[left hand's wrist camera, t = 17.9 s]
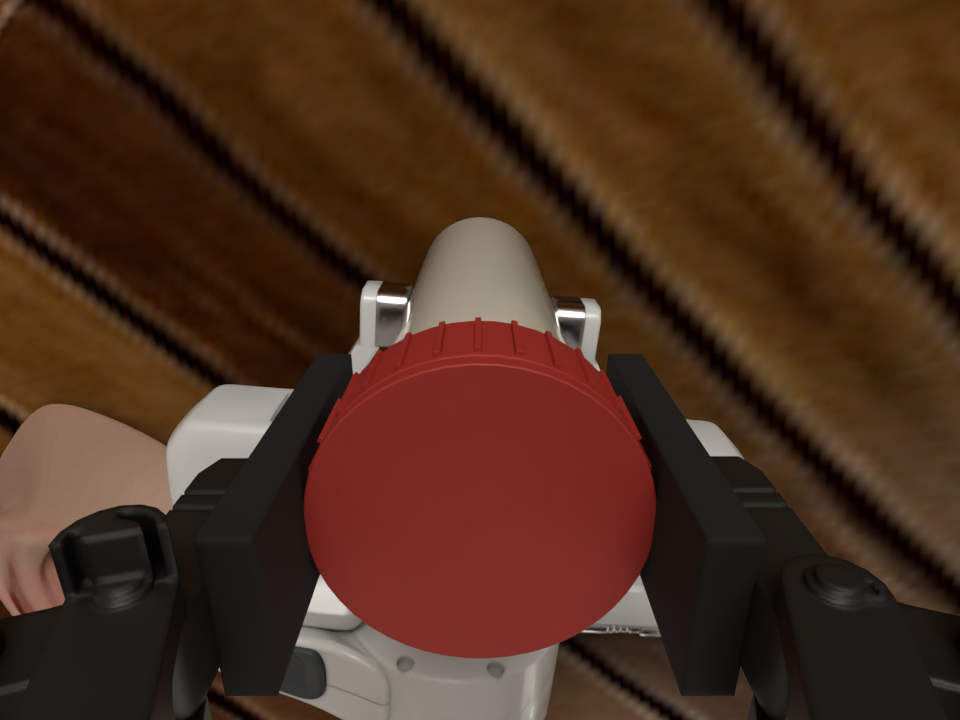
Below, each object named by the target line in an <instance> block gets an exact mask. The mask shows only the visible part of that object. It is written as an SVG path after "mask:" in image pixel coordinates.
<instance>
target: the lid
mask: <svg viewBox="0 0 960 720" xmlns="http://www.w3.org/2000/svg"><path fill="white" fill-rule="evenodd" d="M640 439H642V437H641V435H640V433H639V431H638V429H637V427H636V425H635V423H634V421H633V419H632V417H631V415H630V413H629V411H628V409H627V407H626V405H625V403H624V401H623V399H622V397H621V396H618V397H617V396H616V394H615V392H614V390H613V388H612V386H611V384H610V382H609V379H608V377H607V375H606V373H605V372H604V371H603V370H602V369H601V370H600V371H598V370H597V369H596V368H595V367H594V366H593V365H592V364H591V363H590V362H589V361H588V360H587V359H585V358H584V355H583V353H582V351H581V349H579V348H578V347H577V348H576V349H575V350H574V349H573V348H571V347H569V346H568V345H566V344H564V343H563V342H561V341H559V340H558V339H556V338H554V337H553V336H552V333H551V332H549V331H547V330H546V332H545V334H544V333H542V332H540V331H537V330H534V329H531V328H527V327H524V326H520V325H518V322H517V321H514V320H512V321H511V324H510V323H504V322H497V321H481V317H475V321H465V322H456V323H449V324H446V323H445V321H441V322H439V326H436V327H432V328H429V329H426V330H424V331H421V332H418V333H416V334H413V335H412V333H411V332H408V333H406V334H405V337H404V339H403V340H401V341H399V342H397V343H395V344H394V345H392V346H391V347H389V348H388V349H387V350H385V351H384V352H383V351H382V350H381V349H380V350H378V351H377V352H376V354H375V356H374V358H373V361H372V362H370V363H369V364H368V365H367V366H366V367H365V368H364V369H363V370H362V371H361V373H360V374H359V373H357V372H355V373H354V374H353V376H352V378H351V380H350V382H349V384H348V386H347V388H346V390H345V392H344V395H343V397H342V399H339V398H338V399H337V402H336V404H335V406H334V408H333V410H332V412H331V414H330V416H329V418H328V420H327V422H326V424H325V426H324V428H323V430H322V432H321V434H320V436H319V438H318V440H317V442H318V443H320V445H319V447H318V449H317V451H316V453H315V455H314V458H313V460H312V462H311V464H310V466H309V468H308V478H307V482H306V487H305V491H304V517H305V526H306V534H307V541H308V546H309V550H310V553H311V555H312V558H313V560H314V562H315V565H316V567H317V569H318V571H319V573H320V574H321V576H322V578H323V579H324V581H325V583H326V584H327V586H328V587H329V588H330V590H331V591H332V592H333V593H334V594H335V596H336V597H337V598H338V599H339V601H340V602H341V603H342V604H343V605H344V606H346V607H347V608H348V609H349V610H350V611H351V612H352V613H353V614H354V615H355V616H357V617H358V618H359V619H360V620H362V621H363V622H364V623H366V624H367V625H368V626H370V627H372V628H373V629H375V630H377V631H378V632H380V633H382V634H383V635H385V636H387V637H389V638H391V639H393V640H396V641H398V642H400V643H402V644H405V645H407V646H410V647H413V648H416V649H420V650H423V651H426V652H430V653H435V654H440V655H444V656H452V657H460V658H486V659H487V658H499V657H509V656H515V655H520V654H526V653H530V652H534V651H537V650H540V649H544V648H547V647H550V646H552V645H555V644H557V643H560V642H562V641H565V640H567V639H569V638H571V637H573V636H575V635H576V634H578V633H580V632H582V631H584V630H585V629H587V628H588V627H590V626H591V625H593V624H594V623H596V622H597V621H599V620H600V619H601V618H602V617H604V616H605V615H606V614H607V613H608V612H609V611H610V610H612V609H613V608H614V607H615V606H616V605H617V604H618V603H619V602H620V600H621V599H622V598H623V597H624V596H625V595H626V594H627V592H628V591H629V590H630V588H631V587H632V585H633V584H634V583H635V581H636V580H637V578H638V577H639V575H640V573H641V571H642V569H643V567H644V565H645V563H646V561H647V559H648V556H649V553H650V550H651V545H652V538H653V531H654V523H655V514H656V505H657V498H656V492H655V485H654V480H653V477H652V474H651V469H652V465H651V463H650V461H649V459H648V457H647V455H646V453H645V451H644V449H643V447H642V445H641V443H640V441H639V440H640Z"/></svg>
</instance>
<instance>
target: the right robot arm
mask: <svg viewBox="0 0 960 720" xmlns="http://www.w3.org/2000/svg"><path fill="white" fill-rule="evenodd" d="M411 294H412V285H411V284H400V283H390V282H383V281H367V283H366V285H365V286H364V288H363V290H362V295H361V302H360V336H359V338H358V339H357V341H356V342H355V344H354V345H353V347H352V348H351V350H350V351H349V353H348V354H351V356H352V369H353V374H354V373H355V372H357V373H359V374H360V373H361V371H362V370H363V369H364V368H365V367H366V366H367V365H368V364H369V363H370V361H371V360H372V358H373V357H374V355H375V354H376V352H377V351H378V349H379V347H391V346H392V344H393V342H394V339H395V336H396V334H397V331H398V328H399V326H400V323H401V320H402V318H403V315H404V312H405V310H406V307H407V304H408V302H409V299H410V296H411ZM551 302H552V304H553V307H554V310H555V312H556V315H557V318H558V320H559V323H560V326H561V328H562V331H563V333H564V336H565V339H566V341H567V344H568V346H569V347H571V348H573V349H574V350H575V349H576V348H577V347H578V348H579V349H581V351H582V353H583V355H584V358H585V359H587V360H588V361H589V362H590V363H591V364H592V365H593V366H594V367H595V368H596V369H597V370H598V371H600V368H599V366H598V364H597V362H596V359H595V355H596V349H597V343H598V337H599V330H600V324H601V310H600V307H599V305H598V304H597V302H596V300H595V299H587V298H575V297H561V296H552V297H551ZM293 390H294V389H284V388H271V387H258V386H245V385H233V384H226V385H221V386H218V387H216V388H215V389H214V390H212V391H211V392H210V393H209V394H208V395H207V396H206V397H204V398H203V399H202V400H201V401H200V402H199V403H198V404H197V405H195V406H194V407H193V408H192V409H191V410H190V411H189V412H188V414H187V415H186V416H185V417H184V418H183V419H182V421H181V422H180V423H179V424H178V426H177V427H176V428H175V430H174V431H173V433H172V435H171V437H170V439H169V441H168V444H167V448H166V468H167V477H168V485H169V492H170V498H171V504H172V509H173V505H174V504H175V502H176V501H177V500H178V499H179V497H180V496H181V495H184V491H185V490H186V488H187V487H188V486H189V485H190V483H191V482H192V481H193V479H194V478H195V477H196V476H197V474H198V473H200V472H201V471H203V470H204V469H206V468H207V467H209V466H210V465H212V464H213V463H215V462H216V461H218V460H219V459H221V458H248V457H249V456H250V454H251V453H252V451H253V450H254V449H255V447H256V446H257V444H258V443H259V441H260V440H261V438H262V437H263V435H264V434H265V432H266V431H267V429H268V428H269V426H270V425H271V423H272V422H273V420H274V419H275V417H276V416H277V414H278V413H279V411H280V410H281V408H282V407H283V405H284V404H285V402H286V401H287V399H288V398H289V396H290V395H291V393H292V392H293ZM686 421H687V422H688V424H689V425H690V427H691V428H692V430H693V431H694V433H695V434H696V436H697V437H698V439H699V440H700V442H701V443H702V445H703V446H704V448H705V449H706V451H707V452H708V454H709V455H710V456H739V457H741V458H742V459H744V458H743V457H742V455H741V453H740V452H739V451H738V449H737V448H736V447H735V446H734V444H733V443H732V442H731V441H730V440H729V438H728V437H727V436H726V435H725V434H724V433H723V432H722V430H721V429H720V428H719V427H718V426H716V425H715V424H713V423H711V422H707V421H700V420H687V419H686ZM620 632H621V633H633V634H637V635H638V636H643V637H661V635H660V632H659V629H658V626H657V623H656V620H655V617H654V615H653V612H652V609H651V606H650V603H649V600H648V597H647V594H646V591H645V589H644V586H643V583H642V580H641V577H640V575H639V577H638V578H637V580H636V581H635V583H634V584H633V585H632V587H631V588H630V590H629V591H628V592H627V594H626V595H625V596H624V597H623V598H622V599H621V600H620V602H619V603H618V604H617V605H616V606H615V607H614V608H613V609H612V610H610V611H609V612H608V613H607V614H606V615H605V616H604V617H602V618H601V619H600V620H599V621H597V622H596V623H594V624H593V625H591V626H590V627H588V628H587V629H585V630H584V631H582V632H580V633H591V634H607V633H608V634H610V633H620ZM558 649H559V643H557V644H555V645H552V646H550V647H547V648H544V649H540V650H537V651H534V652H530V653H526V654H520V655H515V656H509V657H499V658H487V659H486V658H460V657H452V656H444V655H440V654H435V653H430V652H426V651H423V650H420V649H416V648H413V647H410V646H407V645H405V644H402V643H400V642H398V641H396V640H393V639H391V638H389V637H387V636H385V635H383V634H382V633H380V632H378V631H377V630H375V629H373V628H372V627H370V626H368V625H367V624H366V623H364V622H363V621H362V620H360V619H359V618H358V617H357V616H355V615H354V614H353V613H352V612H351V611H350V610H349V609H348V608H347V607H346V606H344V605H343V604H342V603H341V602H340V601H339V599H338V598H337V597H336V596H335V594H334V593H333V592H332V591H331V590H330V588H329V587H328V586H327V584H326V583H325V581H324V579H323V578H322V576H321V574H320V576H319V579H318V582H317V585H316V588H315V590H314V593H313V596H312V599H311V602H310V605H309V608H308V611H307V614H306V616H305V619H304V622H303V625H302V628H301V631H300V634H299V637H298V640H297V643H296V645H295V648H294V651H293V654H292V657H291V660H290V663H289V666H288V669H287V671H286V674H285V677H284V680H283V683H282V686H281V689H280V692H279V693H280V694H283V695H286V696H289V697H292V698H295V699H297V700H300V701H303V702H305V703H308V704H310V705H313V706H315V707H317V708H319V709H322V710H324V711H326V712H328V713H330V714H332V715H334V716H336V717H338V718H340V719H342V720H545V717H546V714H547V710H548V705H549V699H550V694H551V688H552V683H553V677H554V671H555V666H556V659H557V654H558ZM218 671H219V672H220V667H219V670H218Z"/></svg>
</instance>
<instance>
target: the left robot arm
mask: <svg viewBox="0 0 960 720" xmlns="http://www.w3.org/2000/svg"><path fill="white" fill-rule="evenodd" d="M352 376H353V369H352V356H351V354H318V355H317V356H316V357H315V359H314V360H313V362H312V363H311V365H310V366H309V368H308V369H307V371H306V372H305V374H304V375H303V377H302V378H301V380H300V381H299V383H298V384H297V386H296V387H295V389H294V390H293V392H292V393H291V395H290V396H289V398H288V399H287V401H286V402H285V404H284V405H283V407H282V408H281V410H280V411H279V413H278V414H277V416H276V417H275V419H274V420H273V422H272V423H271V425H270V426H269V428H268V429H267V431H266V432H265V434H264V435H263V437H262V438H261V440H260V441H259V443H258V444H257V446H256V447H255V449H254V450H253V451H252V453H251V454H250V456H249V457H248V458H221V459H219V460H218V461H216V462H215V463H213V464H212V465H210V466H209V467H207V468H206V469H204V470H203V471H201V472H200V473H198V474H197V476H196V477H195V478H194V479H193V481H192V482H191V483H190V485H189V486H188V487H187V488H186V490H185V491H184V495H181V496H180V497H179V499H178V500H177V501H176V502H175V504H174V505H173V509H172V510H169V511H168V513H167V514H166V515H165V514H164V513H163V512H162V511H161V510H159V509H158V508H156V507H152V506H147V505H142V504H138V505H121V506H117V507H113V508H109V509H104V510H100V511H97V512H95V513H93V514H90V515H88V516H86V517H83V518H81V519H79V520H77V521H75V522H74V523H72V524H71V525H69V526H68V527H66V528H65V529H63V530H62V531H60V532H59V533H58V534H57V536H56V537H55V538H54V539H53V540H52V542H51V543H50V544H49V545H48V547H49V550H50V553H51V556H52V559H53V562H54V566H55V569H56V572H57V575H58V578H59V581H60V584H61V588H62V591H63V594H64V597H65V600H64V603H63V605H59V606H56V607H52V608H48V609H44V610H39V611H34V612H30V613H25V614H21V615H16V616H12V617H7V618H3V619H0V720H211V714H210V708H209V703H208V698H207V693H208V691H209V689H210V687H211V684H212V682H213V680H214V678H215V676H216V674H217V672H218V670H219V667H220V672H221V676H222V681H223V686H224V691H225V695H226V696H278V695H279V692H280V689H281V686H282V683H283V680H284V677H285V674H286V671H287V669H288V666H289V663H290V660H291V657H292V654H293V651H294V648H295V645H296V643H297V640H298V637H299V634H300V631H301V628H302V625H303V622H304V619H305V616H306V614H307V611H308V608H309V605H310V602H311V599H312V596H313V593H314V590H315V588H316V585H317V582H318V579H319V576H320V573H319V571H318V569H317V567H316V565H315V562H314V560H313V558H312V555H311V553H310V550H309V546H308V541H307V534H306V526H305V517H304V491H305V487H306V482H307V478H308V468H309V466H310V464H311V462H312V460H313V458H314V455H315V453H316V451H317V449H318V447H319V445H320V443H318V442H317V440H318V438H319V436H320V434H321V432H322V430H323V428H324V426H325V424H326V422H327V420H328V418H329V416H330V414H331V412H332V410H333V408H334V406H335V404H336V402H337V399H338V398H339V399H342V397H343V395H344V392H345V390H346V388H347V386H348V384H349V382H350V380H351V378H352ZM607 377H608V379H609V382H610V384H611V386H612V388H613V390H614V392H615V394H616V396H617V397H618V396H621V397H622V399H623V401H624V403H625V405H626V407H627V409H628V411H629V413H630V415H631V417H632V419H633V421H634V423H635V425H636V427H637V429H638V431H639V433H640V435H641V437H642V439H640V440H639V441H640V443H641V445H642V447H643V449H644V451H645V453H646V455H647V457H648V459H649V461H650V463H651V465H652V469H651V474H652V477H653V480H654V485H655V492H656V498H657V505H656V514H655V523H654V531H653V538H652V545H651V550H650V553H649V556H648V559H647V561H646V563H645V565H644V567H643V569H642V571H641V573H640V577H641V580H642V583H643V586H644V589H645V591H646V594H647V597H648V600H649V603H650V606H651V609H652V612H653V615H654V617H655V620H656V623H657V626H658V629H659V632H660V635H661V638H662V641H663V644H664V646H665V649H666V652H667V655H668V658H669V661H670V664H671V667H672V670H673V672H674V675H675V678H676V681H677V684H678V687H679V690H680V693H681V696H734V694H735V689H736V684H737V679H738V675H739V670H740V665H741V667H742V669H743V671H744V674H745V676H746V678H747V680H748V682H749V684H750V686H751V688H752V690H753V693H754V694H753V698H752V703H751V707H750V712H749V716H748V720H960V616H956V615H952V614H947V613H942V612H938V611H933V610H929V609H924V608H920V607H915V606H910V605H907V604H903V603H900V602H896V599H895V597H894V596H893V595H892V593H891V592H890V591H889V589H888V588H887V586H886V585H885V584H884V583H883V582H882V581H880V580H879V579H878V578H876V577H875V576H874V575H873V574H871V573H870V572H869V571H867V570H865V569H863V568H861V567H859V566H857V565H855V564H853V563H851V562H849V561H846V560H843V559H839V558H836V557H832V556H828V555H827V554H826V552H825V551H824V550H823V549H822V547H821V546H820V545H819V544H818V542H817V541H816V540H815V538H814V537H813V536H812V535H811V533H810V532H809V531H808V530H807V528H806V527H805V526H804V524H803V523H802V522H801V521H800V519H799V518H798V517H797V515H796V514H795V513H794V512H793V510H792V509H791V508H788V507H787V503H786V501H785V500H784V499H783V498H782V496H781V495H780V494H779V493H776V489H775V487H774V486H773V485H772V484H771V482H770V481H769V480H768V479H767V477H766V476H765V475H764V473H763V472H762V471H760V470H759V469H757V468H756V467H754V466H753V465H751V464H750V463H748V462H747V461H745V460H744V459H742V458H741V457H739V456H710V455H709V454H708V452H707V451H706V449H705V448H704V446H703V445H702V443H701V442H700V440H699V439H698V437H697V436H696V434H695V433H694V431H693V430H692V428H691V427H690V425H689V424H688V422H687V421H686V419H685V418H684V416H683V415H682V413H681V412H680V410H679V409H678V407H677V406H676V404H675V403H674V401H673V400H672V398H671V397H670V395H669V394H668V392H667V391H666V389H665V388H664V386H663V385H662V383H661V382H660V380H659V379H658V377H657V376H656V374H655V373H654V371H653V370H652V368H651V367H650V365H649V364H648V363H647V361H646V360H645V358H644V357H643V355H642V354H608V364H607Z"/></svg>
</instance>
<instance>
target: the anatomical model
mask: <svg viewBox="0 0 960 720" xmlns="http://www.w3.org/2000/svg"><path fill="white" fill-rule="evenodd" d="M166 448H167V446H165V445H164V444H162V443H160V442H158V441H157V440H155V439H153V438H151V437H150V436H148V435H146V434H144V433H142V432H140V431H138V430H136V429H134V428H132V427H130V426H128V425H125V424H123V423H121V422H119V421H116V420H114V419H111V418H109V417H107V416H104V415H102V414H99V413H96V412H93V411H90V410H87V409H84V408H81V407H77V406H73V405H66V404H50V405H46V406H43V407H41V408H39V409H38V410H36V411H35V412H34V413H32V414H31V415H30V416H29V417H28V418H27V419H26V421H25V422H24V423H23V424H22V425H21V426H20V428H19V429H18V431H17V432H16V434H15V435H14V437H13V438H12V440H11V441H10V443H9V444H8V446H7V447H6V449H5V450H4V452H3V454H2V456H1V458H0V600H1V601H2V602H3V604H4V605H5V607H6V608H7V609H8V611H9V612H10V613H11V615H12V616H16V615H21V614H25V613H30V612H34V611H39V610H44V609H48V608H52V607H56V606H59V605H63V603H64V600H65V597H64V594H63V591H62V588H61V584H60V581H59V578H58V575H57V572H56V569H55V566H54V562H53V559H52V556H51V553H50V550H49V547H48V545H49V544H50V543H51V542H52V540H53V539H54V538H55V537H56V536H57V534H58V533H59V532H60V531H62V530H63V529H65V528H66V527H68V526H69V525H71V524H72V523H74V522H75V521H77V520H79V519H81V518H83V517H86V516H88V515H90V514H93V513H95V512H97V511H100V510H104V509H109V508H113V507H117V506H121V505H138V504H142V505H147V506H152V507H156V508H158V509H159V510H161V511H162V512H163V513H164V514H165V515H166V514H167V513H168V511H169V510H172V504H171V498H170V492H169V485H168V477H167V468H166Z"/></svg>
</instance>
